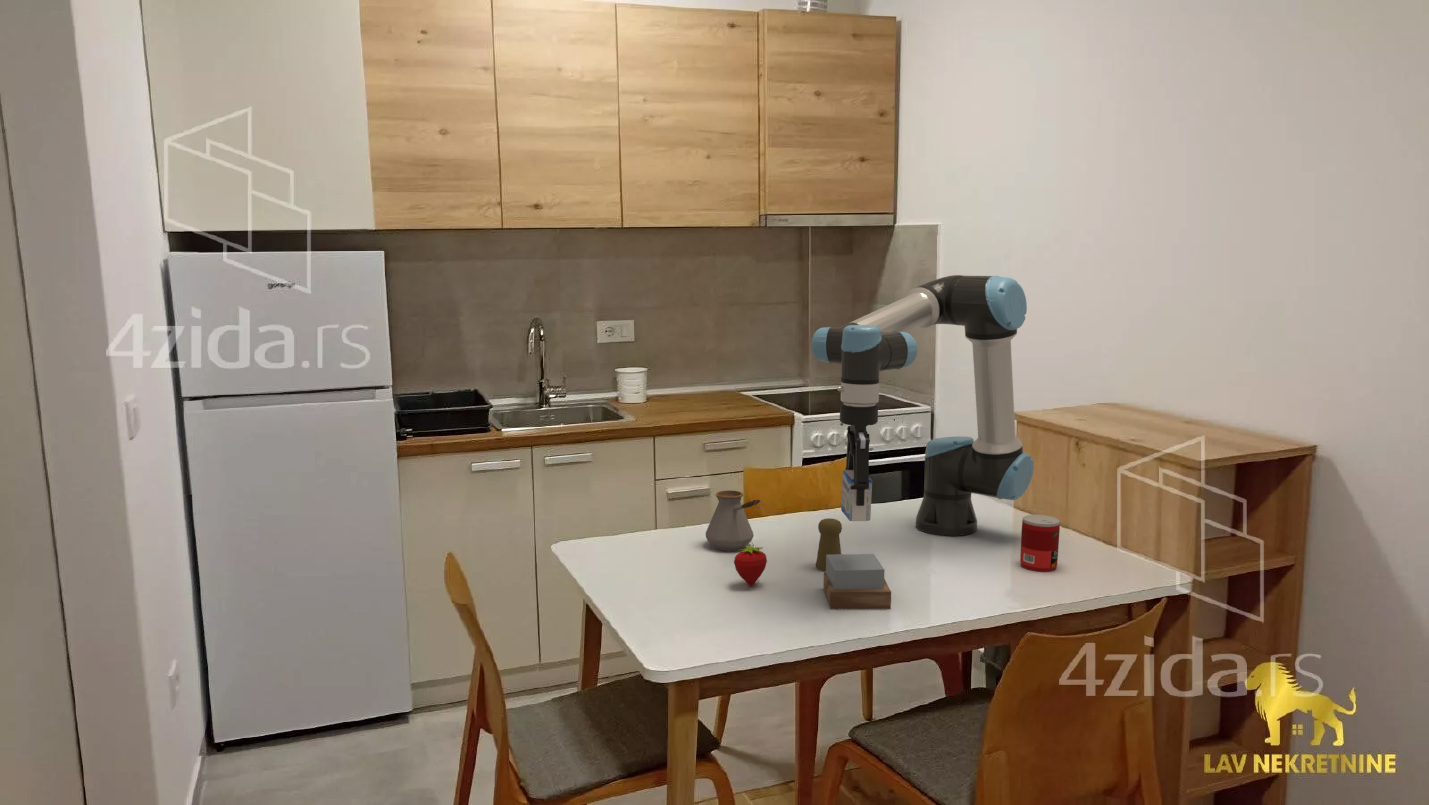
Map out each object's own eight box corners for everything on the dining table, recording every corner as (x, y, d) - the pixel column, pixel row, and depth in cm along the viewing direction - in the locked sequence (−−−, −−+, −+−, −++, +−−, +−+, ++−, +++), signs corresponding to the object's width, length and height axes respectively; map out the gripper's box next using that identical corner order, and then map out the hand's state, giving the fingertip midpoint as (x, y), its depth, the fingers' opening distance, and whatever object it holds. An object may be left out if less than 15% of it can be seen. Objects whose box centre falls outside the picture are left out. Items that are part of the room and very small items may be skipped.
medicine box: (840, 511, 210) (841, 469, 208) (862, 510, 210) (863, 469, 208) (848, 521, 202) (850, 478, 200) (871, 521, 202) (872, 478, 201)
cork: (825, 573, 224) (826, 524, 222) (810, 565, 229) (811, 518, 227) (848, 569, 226) (849, 521, 224) (832, 561, 232) (833, 514, 230)
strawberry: (727, 585, 216) (727, 539, 214) (755, 578, 220) (756, 533, 219) (744, 593, 211) (744, 546, 210) (773, 586, 216) (773, 540, 214)
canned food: (1059, 573, 224) (1062, 524, 222) (1021, 570, 226) (1024, 522, 224) (1054, 562, 231) (1057, 515, 230) (1018, 560, 233) (1020, 513, 231)
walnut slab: (823, 590, 214) (823, 572, 214) (880, 590, 215) (880, 572, 214) (830, 611, 203) (830, 592, 202) (890, 611, 203) (891, 591, 202)
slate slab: (825, 573, 213) (826, 554, 212) (873, 572, 214) (873, 553, 213) (834, 589, 203) (834, 570, 203) (883, 588, 204) (884, 569, 203)
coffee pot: (697, 542, 246) (697, 481, 243) (740, 536, 250) (740, 477, 248) (736, 568, 227) (736, 503, 224) (781, 562, 231) (782, 497, 229)
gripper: (834, 395, 212) (831, 501, 216) (847, 412, 192) (843, 529, 195) (870, 395, 212) (866, 501, 216) (886, 412, 192) (882, 529, 195)
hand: (855, 514), depth 206 cm, fingers closed on medicine box, 8 cm apart
